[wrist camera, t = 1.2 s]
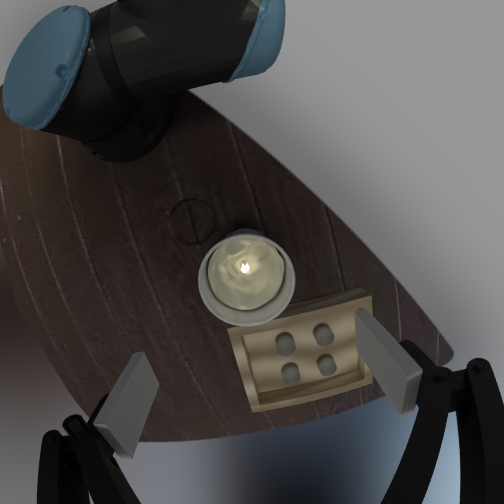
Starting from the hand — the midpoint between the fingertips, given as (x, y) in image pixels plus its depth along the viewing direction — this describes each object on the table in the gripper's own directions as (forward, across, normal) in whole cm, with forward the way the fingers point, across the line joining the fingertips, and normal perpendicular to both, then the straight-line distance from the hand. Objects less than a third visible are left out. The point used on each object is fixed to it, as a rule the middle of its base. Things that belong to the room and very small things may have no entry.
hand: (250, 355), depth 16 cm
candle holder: (+25, 0, 0) cm, 25 cm away
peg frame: (+24, +6, -17) cm, 30 cm away
